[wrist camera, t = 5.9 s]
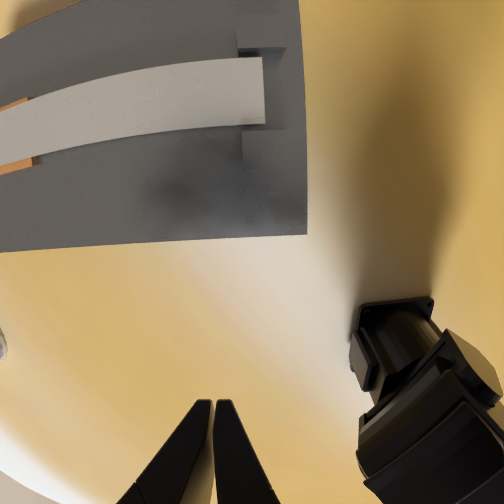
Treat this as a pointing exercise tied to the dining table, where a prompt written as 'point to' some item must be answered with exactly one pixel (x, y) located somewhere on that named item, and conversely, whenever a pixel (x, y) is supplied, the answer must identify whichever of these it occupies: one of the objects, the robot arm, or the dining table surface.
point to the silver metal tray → (162, 143)
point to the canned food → (2, 347)
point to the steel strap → (136, 106)
